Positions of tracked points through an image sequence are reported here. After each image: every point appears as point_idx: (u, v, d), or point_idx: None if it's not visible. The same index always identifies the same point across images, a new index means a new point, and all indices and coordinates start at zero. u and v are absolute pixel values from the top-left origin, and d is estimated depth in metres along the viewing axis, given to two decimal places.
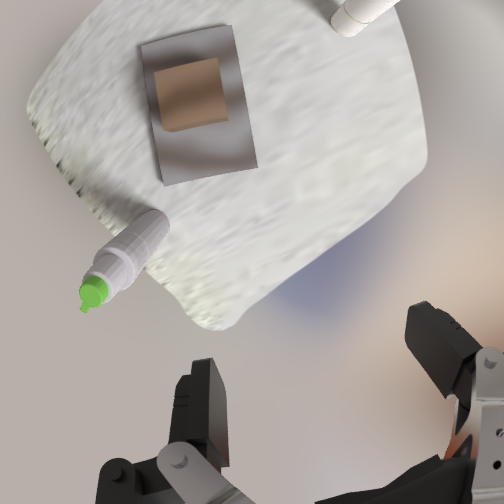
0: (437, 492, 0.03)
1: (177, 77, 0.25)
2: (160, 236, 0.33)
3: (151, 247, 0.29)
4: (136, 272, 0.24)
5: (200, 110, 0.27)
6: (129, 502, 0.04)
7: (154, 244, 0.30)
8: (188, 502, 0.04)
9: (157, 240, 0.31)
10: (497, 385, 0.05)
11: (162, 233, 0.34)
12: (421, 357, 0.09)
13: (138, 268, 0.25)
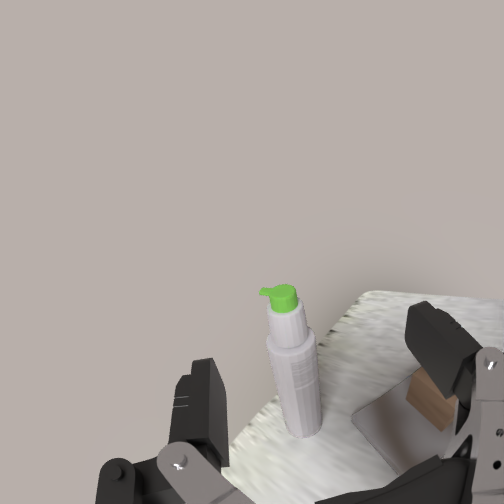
0: (437, 492, 0.03)
1: None
2: (306, 416, 0.26)
3: (304, 395, 0.24)
4: (292, 360, 0.22)
5: None
6: (129, 502, 0.04)
7: (303, 402, 0.24)
8: (188, 502, 0.04)
9: (305, 409, 0.25)
10: (497, 385, 0.05)
11: (307, 420, 0.26)
12: (421, 357, 0.09)
13: (294, 364, 0.22)
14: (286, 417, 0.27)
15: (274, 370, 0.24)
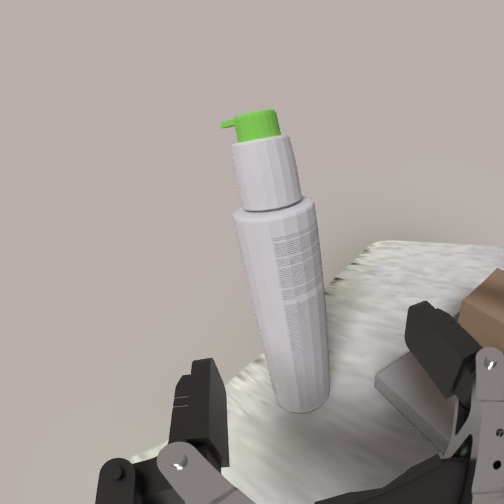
0: (437, 492, 0.03)
1: None
2: (305, 368, 0.17)
3: (300, 320, 0.15)
4: (274, 230, 0.13)
5: None
6: (129, 502, 0.04)
7: (300, 336, 0.15)
8: (188, 502, 0.04)
9: (303, 352, 0.16)
10: (497, 385, 0.05)
11: (307, 378, 0.17)
12: (421, 357, 0.09)
13: (280, 241, 0.13)
14: (273, 373, 0.18)
15: (247, 267, 0.15)
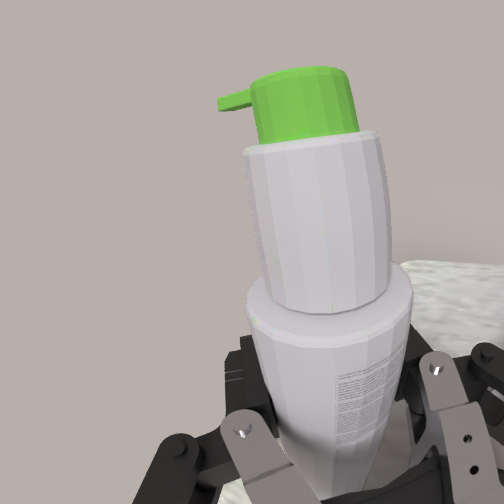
0: None
1: None
2: (346, 486, 0.09)
3: (355, 456, 0.07)
4: (346, 362, 0.05)
5: None
6: (183, 481, 0.05)
7: (350, 467, 0.08)
8: (240, 470, 0.05)
9: (348, 477, 0.08)
10: (450, 389, 0.06)
11: (346, 491, 0.09)
12: None
13: (352, 378, 0.05)
14: None
15: (274, 396, 0.07)
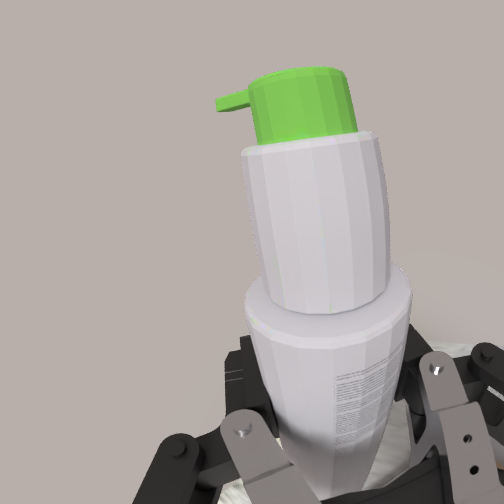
0: None
1: None
2: (345, 487, 0.09)
3: (354, 457, 0.07)
4: (344, 363, 0.05)
5: None
6: (183, 481, 0.05)
7: (349, 468, 0.08)
8: (240, 470, 0.05)
9: (347, 478, 0.08)
10: (450, 389, 0.06)
11: (345, 491, 0.09)
12: None
13: (350, 379, 0.05)
14: None
15: (272, 396, 0.07)
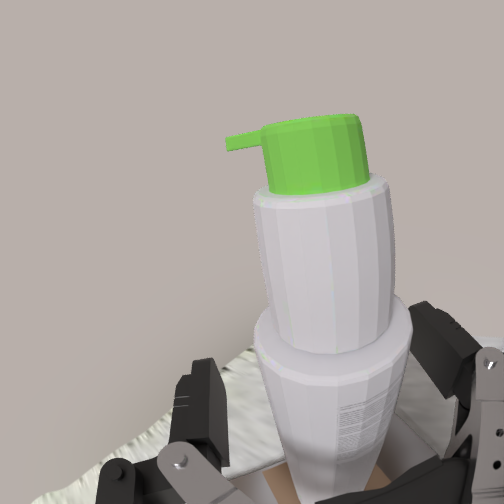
0: (437, 492, 0.03)
1: None
2: None
3: (354, 469, 0.07)
4: (348, 396, 0.05)
5: None
6: (129, 502, 0.04)
7: (349, 479, 0.08)
8: (188, 502, 0.04)
9: (347, 487, 0.08)
10: (497, 385, 0.05)
11: None
12: (421, 357, 0.09)
13: (352, 409, 0.06)
14: (301, 493, 0.10)
15: (279, 419, 0.07)
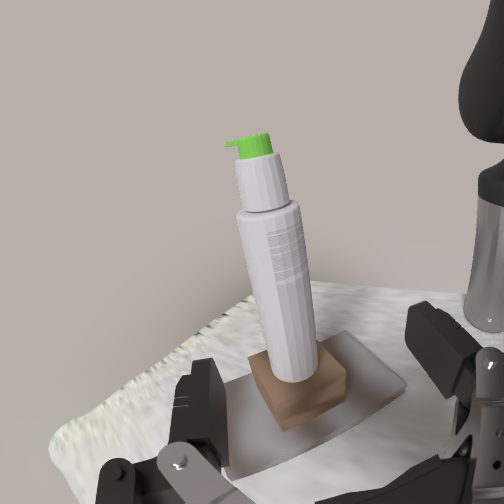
0: (437, 492, 0.03)
1: None
2: (295, 339, 0.21)
3: (289, 297, 0.19)
4: (268, 226, 0.17)
5: (275, 379, 0.24)
6: (129, 502, 0.04)
7: (290, 311, 0.20)
8: (188, 502, 0.04)
9: (293, 325, 0.20)
10: (497, 385, 0.05)
11: (297, 348, 0.21)
12: (421, 357, 0.09)
13: (272, 235, 0.18)
14: (269, 346, 0.22)
15: (247, 255, 0.19)
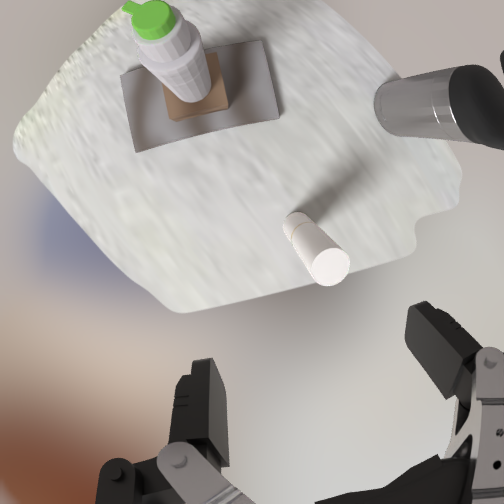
0: (437, 492, 0.03)
1: (209, 71, 0.27)
2: (186, 95, 0.24)
3: (181, 87, 0.20)
4: (161, 73, 0.15)
5: (174, 95, 0.28)
6: (129, 502, 0.04)
7: (181, 90, 0.21)
8: (188, 502, 0.04)
9: (184, 92, 0.23)
10: (497, 385, 0.05)
11: (188, 96, 0.25)
12: (421, 357, 0.09)
13: (165, 75, 0.16)
14: None
15: None
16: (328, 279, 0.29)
